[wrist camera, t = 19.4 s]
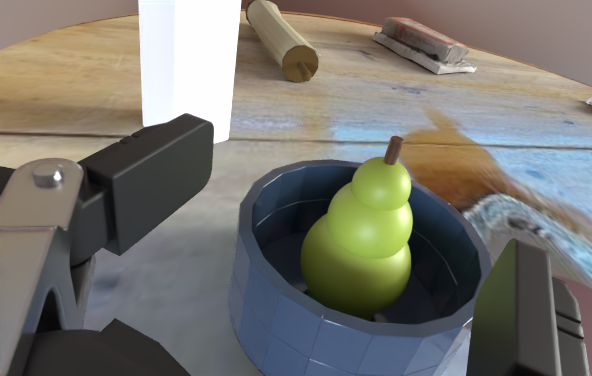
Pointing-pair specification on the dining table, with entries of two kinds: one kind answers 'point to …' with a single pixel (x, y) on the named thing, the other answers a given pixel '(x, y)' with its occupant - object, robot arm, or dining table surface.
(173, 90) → the milk
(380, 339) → the pot
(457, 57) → the packaged product
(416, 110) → the dining table surface
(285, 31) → the rolling pin
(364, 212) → the pear
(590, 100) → the acanthus leaf ornament
